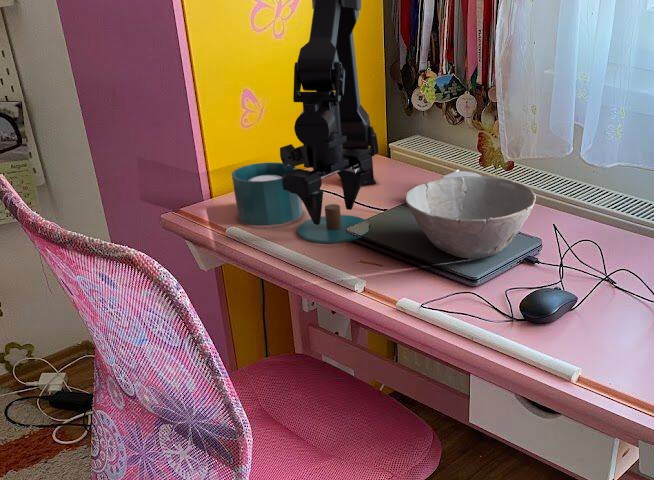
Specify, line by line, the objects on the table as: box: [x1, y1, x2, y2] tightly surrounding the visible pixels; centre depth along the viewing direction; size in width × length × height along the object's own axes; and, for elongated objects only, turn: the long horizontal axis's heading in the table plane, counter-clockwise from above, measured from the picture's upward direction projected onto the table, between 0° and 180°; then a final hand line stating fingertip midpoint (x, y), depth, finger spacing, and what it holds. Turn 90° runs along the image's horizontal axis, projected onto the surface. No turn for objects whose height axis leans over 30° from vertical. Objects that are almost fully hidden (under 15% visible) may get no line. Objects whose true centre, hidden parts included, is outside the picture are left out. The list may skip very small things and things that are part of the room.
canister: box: [231, 162, 304, 227], centre depth 166 cm, size 12×12×9 cm
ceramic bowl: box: [405, 175, 537, 261], centre depth 150 cm, size 22×23×10 cm
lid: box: [297, 203, 371, 244], centre depth 159 cm, size 13×13×5 cm
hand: (333, 216), depth 159 cm, fingers open, 9 cm apart
